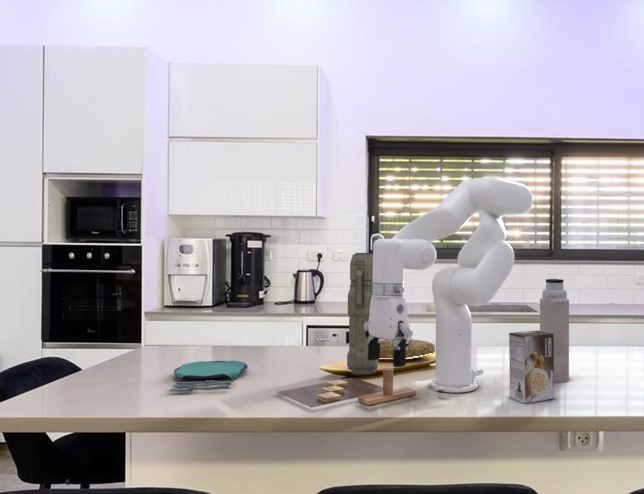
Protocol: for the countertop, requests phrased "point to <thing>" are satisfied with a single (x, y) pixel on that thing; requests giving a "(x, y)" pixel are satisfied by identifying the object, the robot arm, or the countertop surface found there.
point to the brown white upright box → (531, 366)
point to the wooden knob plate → (387, 391)
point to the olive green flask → (360, 313)
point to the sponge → (413, 349)
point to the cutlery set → (207, 374)
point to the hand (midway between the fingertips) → (386, 363)
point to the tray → (310, 393)
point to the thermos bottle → (556, 325)
